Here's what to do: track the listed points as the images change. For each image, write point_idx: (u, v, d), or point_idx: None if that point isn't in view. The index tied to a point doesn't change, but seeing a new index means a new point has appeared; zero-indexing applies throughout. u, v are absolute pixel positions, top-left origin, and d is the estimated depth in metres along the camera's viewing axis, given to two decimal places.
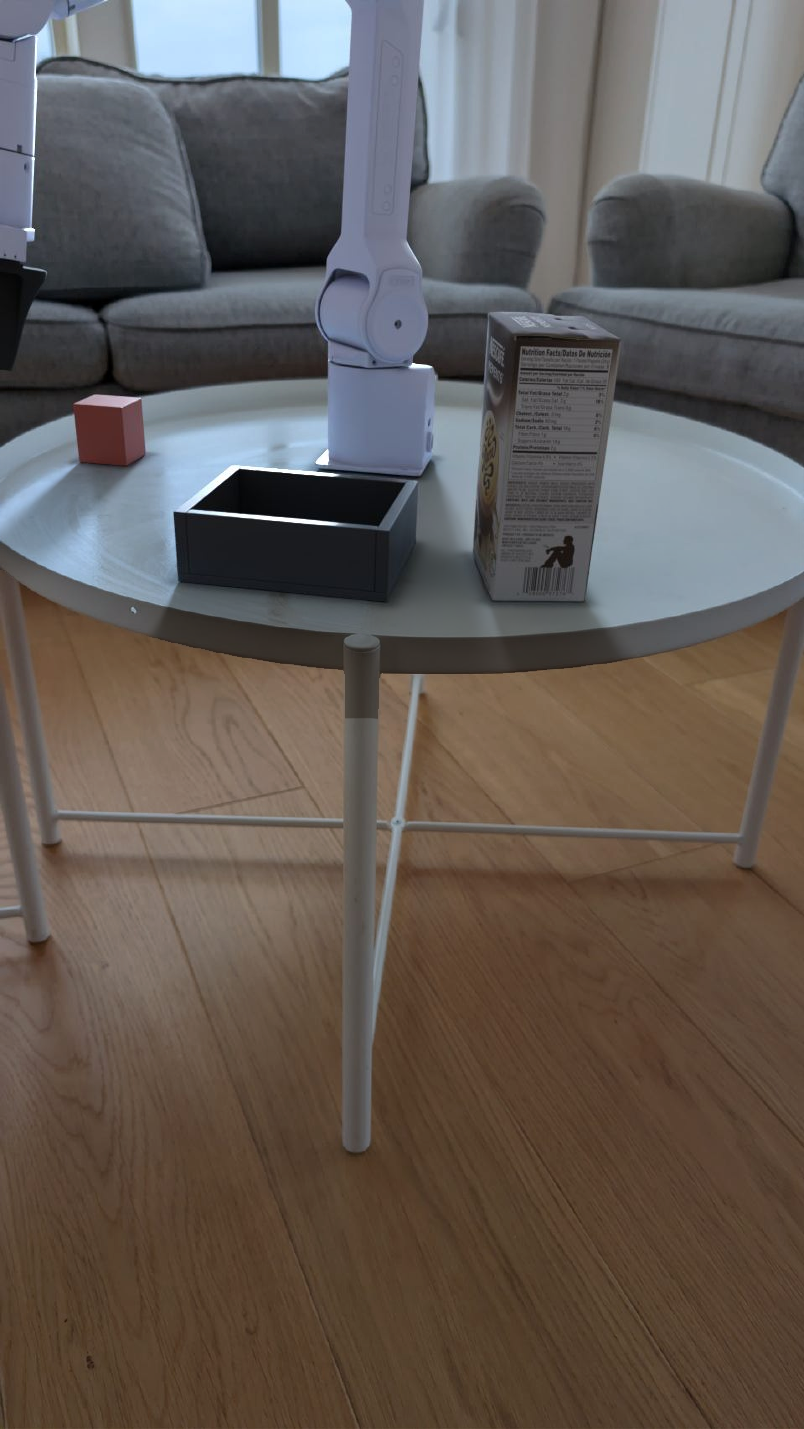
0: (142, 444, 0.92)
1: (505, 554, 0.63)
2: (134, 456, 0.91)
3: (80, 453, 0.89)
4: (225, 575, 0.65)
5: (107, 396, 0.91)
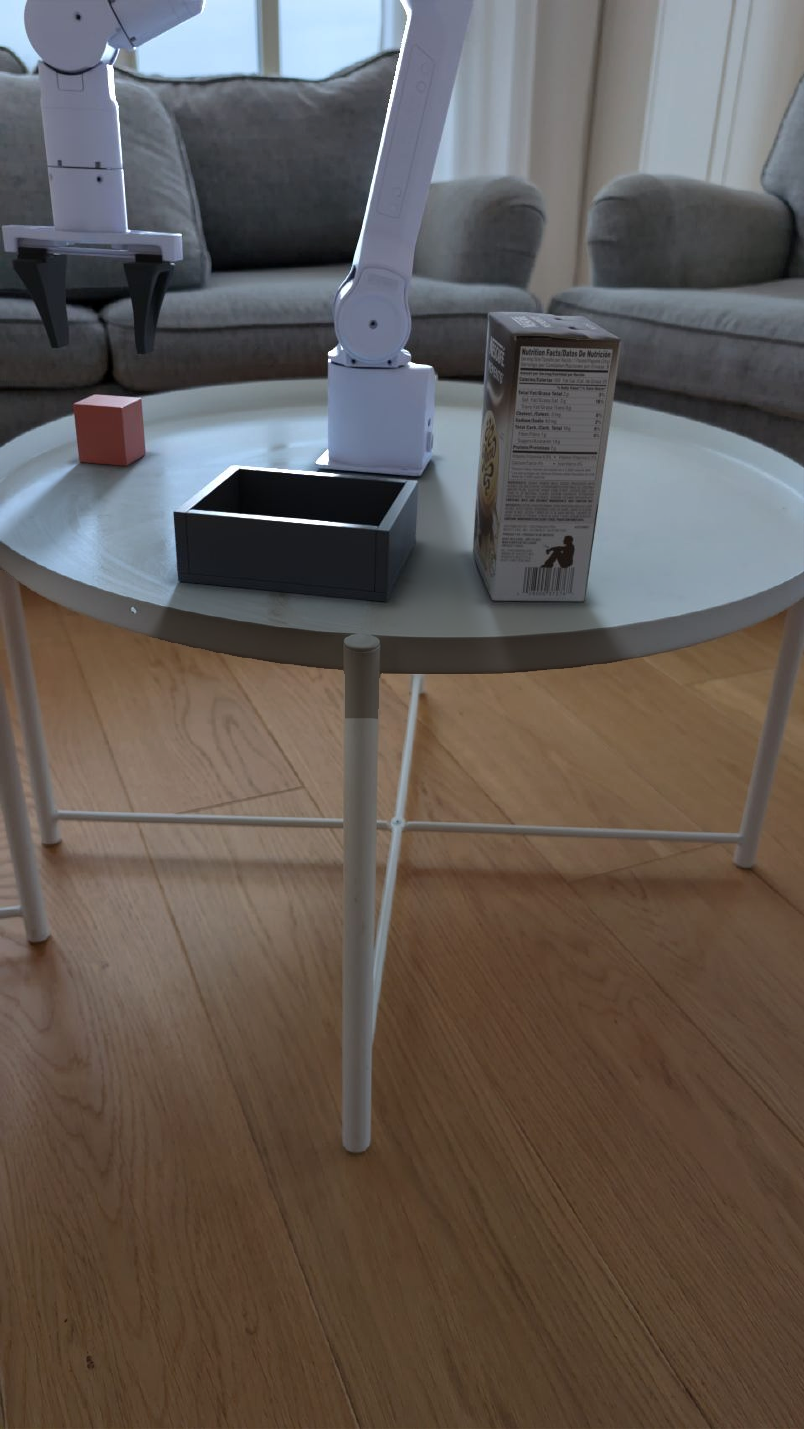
0: (142, 444, 0.92)
1: (505, 554, 0.63)
2: (134, 456, 0.91)
3: (80, 453, 0.89)
4: (225, 575, 0.65)
5: (107, 396, 0.91)
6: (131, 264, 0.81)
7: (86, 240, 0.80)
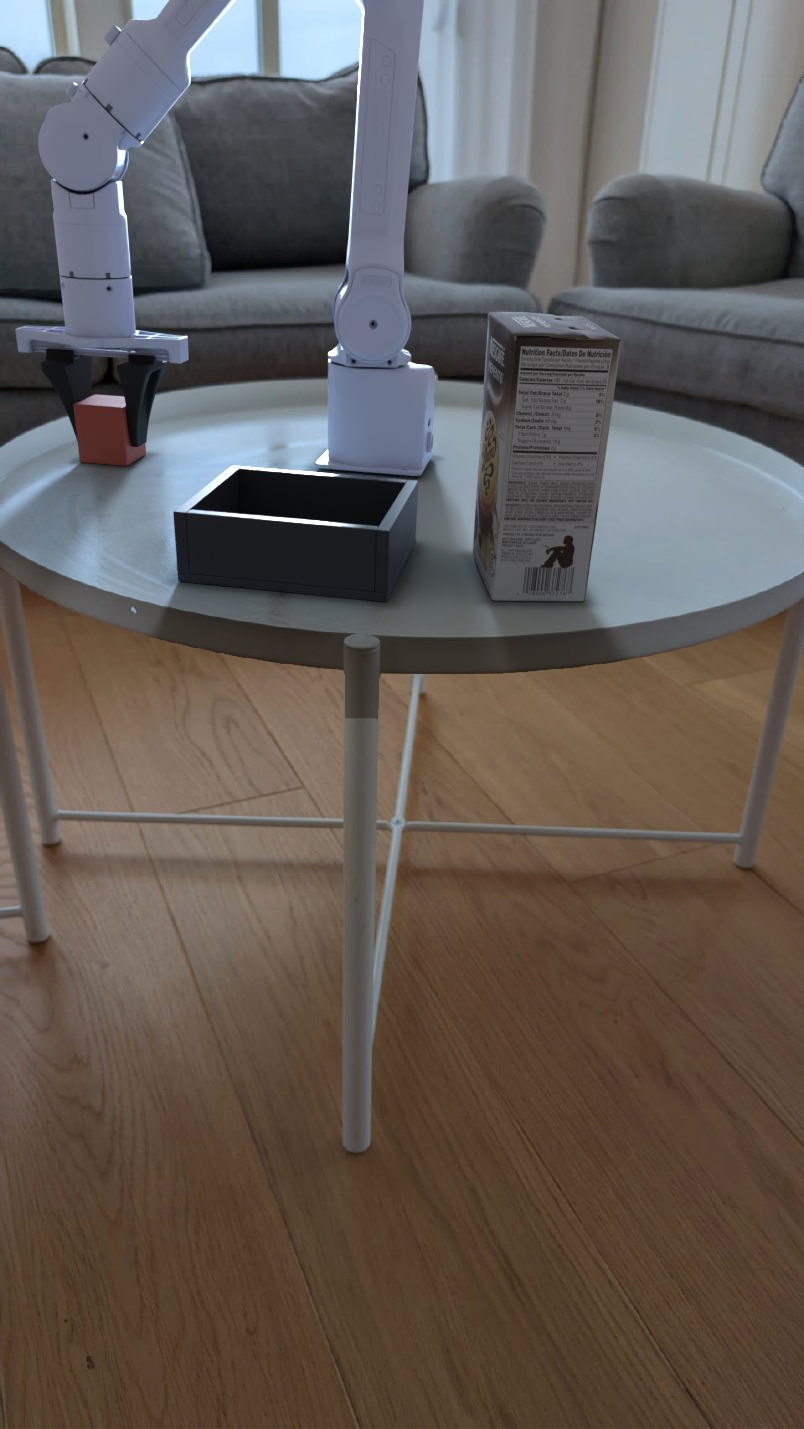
0: None
1: (505, 553, 0.63)
2: (134, 456, 0.91)
3: (80, 453, 0.89)
4: (225, 575, 0.65)
5: (107, 396, 0.91)
6: (124, 366, 0.85)
7: (96, 345, 0.84)
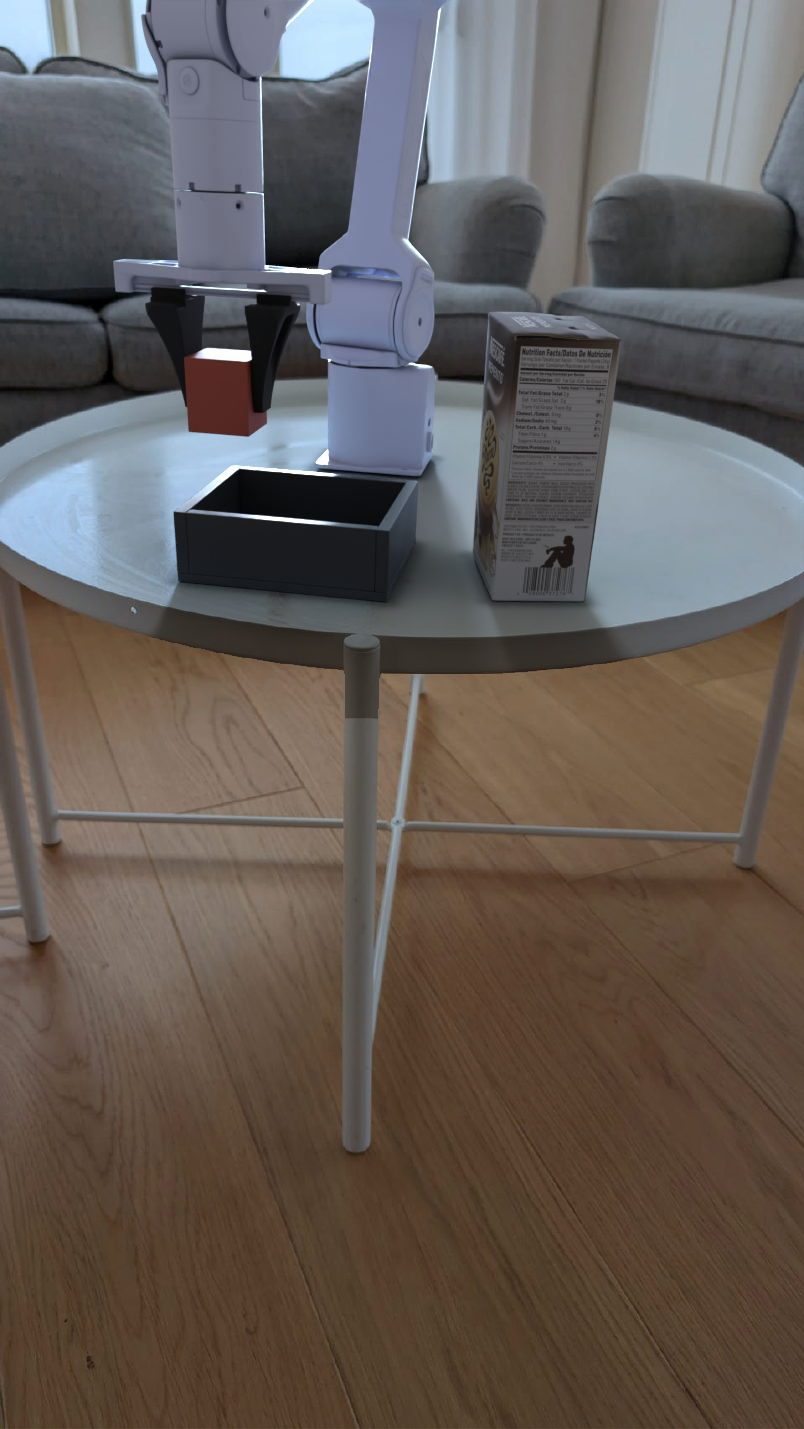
0: None
1: (505, 553, 0.63)
2: (256, 425, 0.72)
3: (190, 420, 0.71)
4: (225, 575, 0.65)
5: (223, 350, 0.72)
6: (254, 307, 0.66)
7: (221, 280, 0.65)
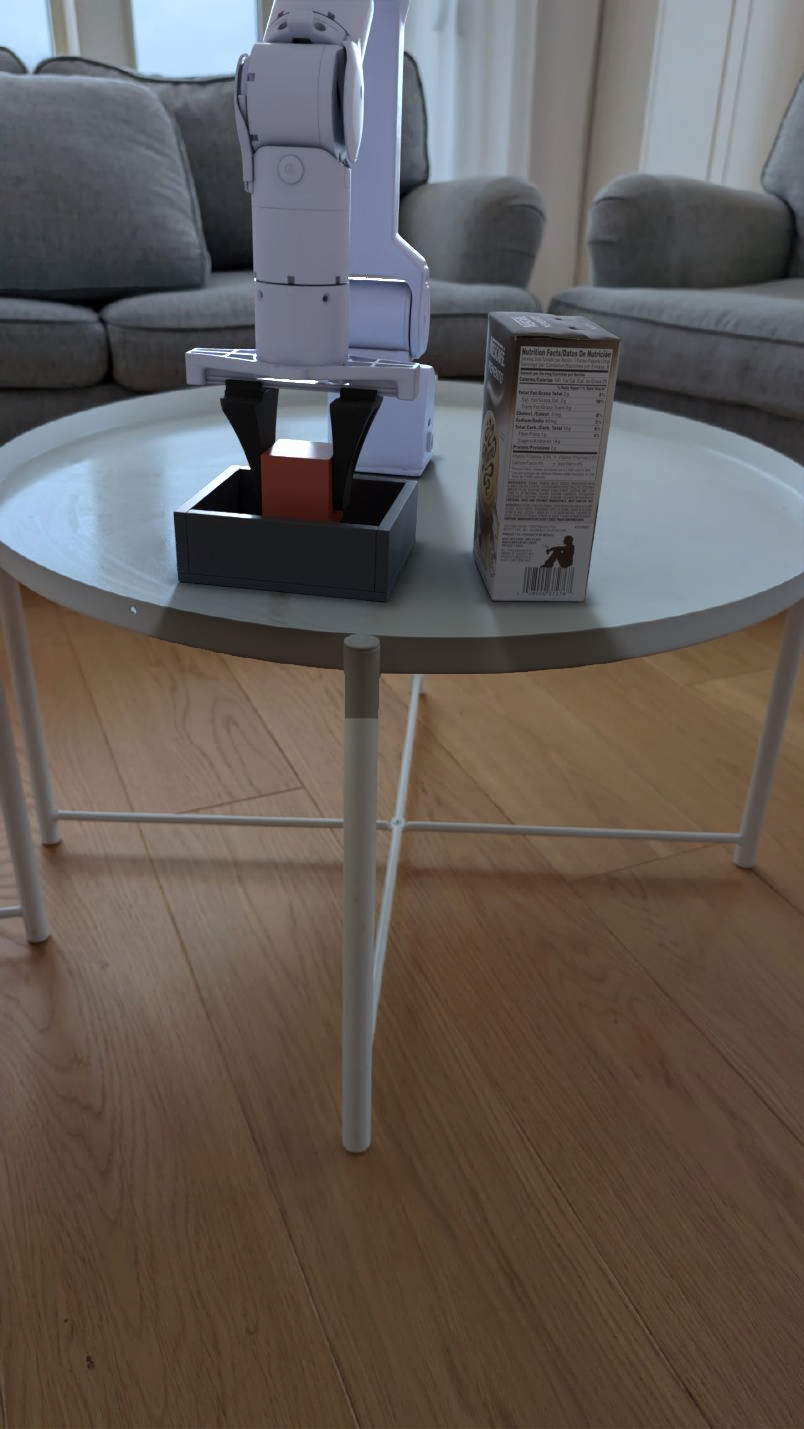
0: None
1: (505, 553, 0.63)
2: None
3: None
4: (225, 575, 0.65)
5: (298, 442, 0.68)
6: (340, 405, 0.62)
7: (305, 377, 0.61)
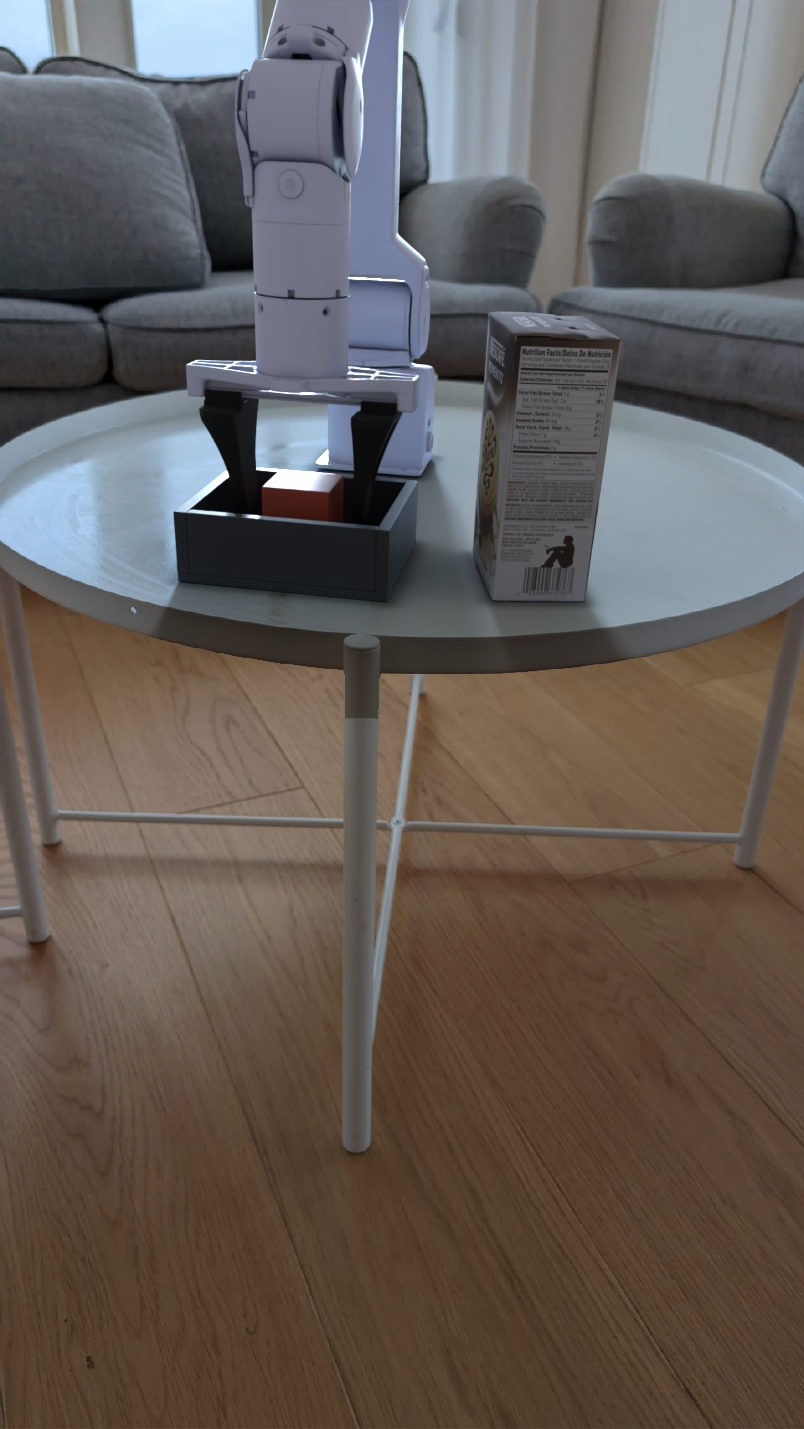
0: None
1: (505, 553, 0.63)
2: None
3: None
4: (225, 575, 0.65)
5: (298, 473, 0.69)
6: (361, 419, 0.62)
7: (305, 390, 0.61)
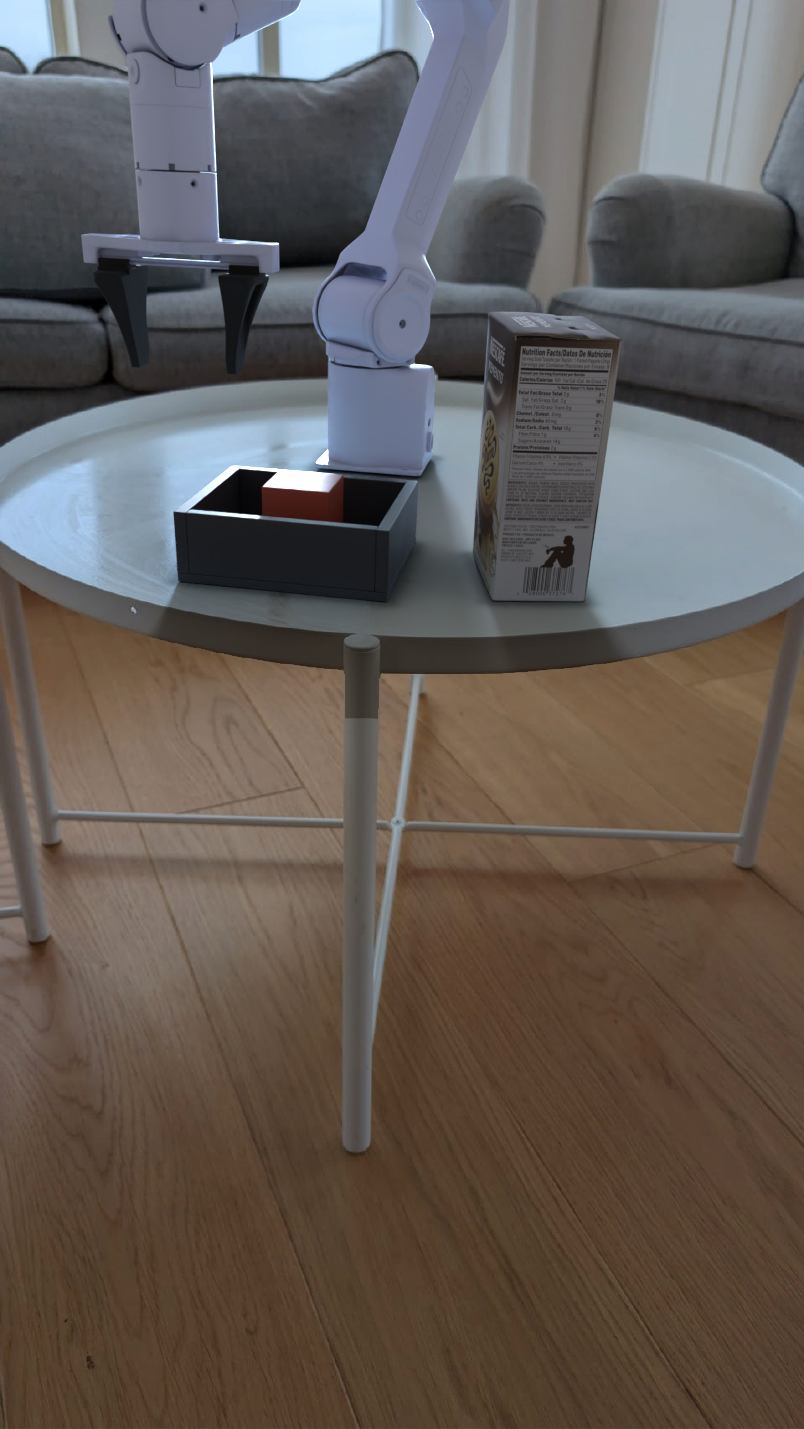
0: None
1: (505, 553, 0.63)
2: None
3: None
4: (225, 575, 0.65)
5: (298, 473, 0.69)
6: (227, 276, 0.74)
7: (178, 250, 0.73)
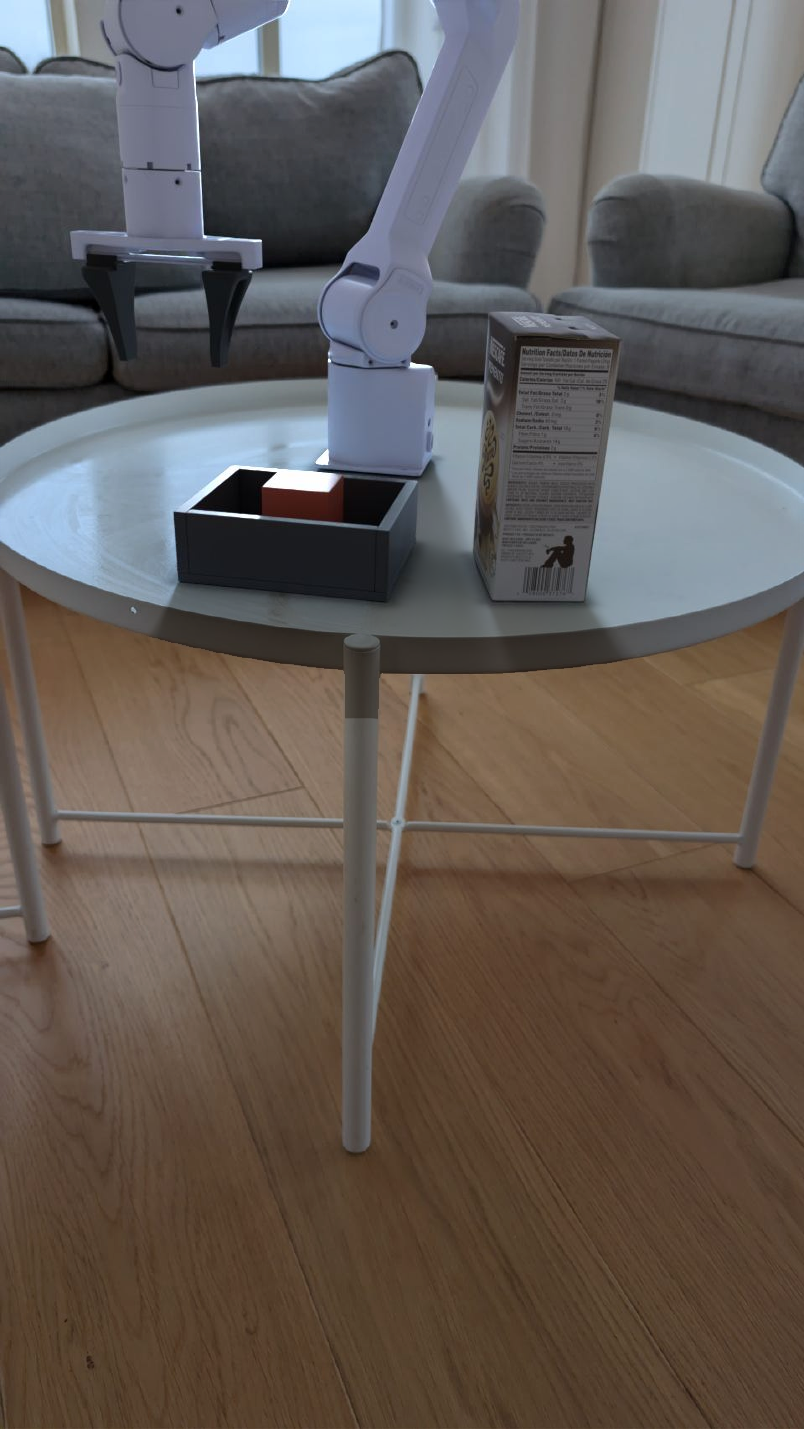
0: None
1: (505, 553, 0.63)
2: None
3: None
4: (225, 575, 0.65)
5: (298, 473, 0.69)
6: (210, 272, 0.76)
7: (163, 247, 0.75)
